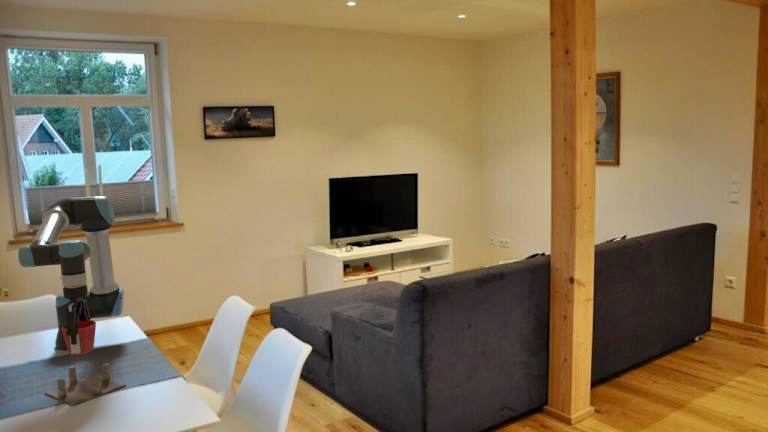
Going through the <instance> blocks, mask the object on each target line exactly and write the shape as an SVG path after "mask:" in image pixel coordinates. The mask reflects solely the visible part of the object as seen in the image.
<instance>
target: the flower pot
mask: <svg viewBox="0 0 768 432" xmlns="http://www.w3.org/2000/svg"><path fill="white" fill-rule="evenodd" d="M96 327H97V323H96V320H93V319H90V320H86V321H78V334H79V341H80V351H81V352H80V353H74V354H71V345H70V335H69V336H67V335H66V333H67V323H66V324H64V325H63V326H62V332H63V336H64V339H65V342H66V346H67V349H68V350H67V352H68V354H69V355H73V356H79V355H85V354H88V353H90V352H92V351H93V350H94V348H95V347H94V346H95V341H94V339H96V338H95V337H96V329H97V328H96Z"/></svg>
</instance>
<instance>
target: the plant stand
mask: <svg viewBox="0 0 768 432" xmlns="http://www.w3.org/2000/svg"><path fill="white" fill-rule="evenodd" d="M67 371H68V379H69V383H67V384H66V379H65V378H64V377H63V378H59V379H57V380H56V385H57V387H55V388H51V389H49V390H46V391H44V394H45V395H47V396H49V397H50V398H54V399H56V400H58V401H60V402H63V403H64V404H67V405H69V406H71V407H75V406H78V405H80V404H83V403H85V402H88V401H91V400H93V399H97V398H99V397H100V396H104V395H107V394H109V393H112V392H115V391H117V390H119V389H122V388H125V387H127V384H126V383H122V382H120V381H116V380H114V379H112V378H111V370H110V363H103V364H101V371H102V375H101V374H99V373H94V374H92V375H90V376H86V377H83V378H81V379H78V377H77V368H76V366H75V365H72V366H69V367H68V368H67Z"/></svg>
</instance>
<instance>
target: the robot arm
mask: <svg viewBox="0 0 768 432" xmlns="http://www.w3.org/2000/svg"><path fill="white" fill-rule="evenodd" d="M115 220H116V217H115V210H114V207H113V203H112V201H111V199H110V198H109V197H108V196H105V195H103V196H102V195H101V196H100V195H94V196H80V197H67V198H62V199H60V200H58V201H56V202H55V203H53V204H51V205H50V206H49V207H47V209H45V211H44V212H43V214H42V217H41V222H42V223H41V224H40V227H39V228H38V230H37V233H36V234H35V236H34V238H33V240H32V242H31V244H30V245H29V244H26V245H23V246H20V248H19V250H18V262H19V265H20V266H21V267H22V268H35V267H36V268H37V267H46V266H59V265H60V272H61V276H60V280H61V283H62V286H63V288H62V292H61V293H60V294H59V293H58V295H57V296H55V309H56V319H57V326H58V327H57V328H58V329H57V334H56V337H55V341H54V342H55V343H54V345H55V348H56V349H58V350H63V351H64V350H67V351H68V349H67V346H66V342H65V339H64V336H63V332H62V326H63V325H64V324H66V323H67V333H66V335H67V336H69V335H70V345H71V354H70V355H72V354H73V355H74V353H80V352H81V351H80V341H79V334H78V321H86V320H93V319H102V318H113V317H117V316H120V315H122V313H123V310H124V309H123V308H124V298H125V296H124V295H125V294H124V293H125V292H124V289H123V288H120V285H119V283H117V282H116V281H115V275H114V267H113V260H112V250H111V243H110V241H111V240H110V235H109V231H110V229H112V227H113V226H112V225H113V224H114V223H115ZM75 226H76V227H77V226H79V227H80V230H81V231H82V233H84V234H85V236H86V241H84V240H80V239H70V240H69V239H68V240H63V241H61V242H60V243H58V242H59V239H60V237H61V235H62V233H63V231H64V230H65V229H66V228H67V227H75ZM88 259H89V265H90V266H89V267H90V273H91V274H90V275H91V281H92V285H91V287H90V288H89V291H88V284H87V283H88V278H87V272H86V261H87V260H88ZM95 339H96V338H95ZM95 339H94V342H95Z"/></svg>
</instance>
